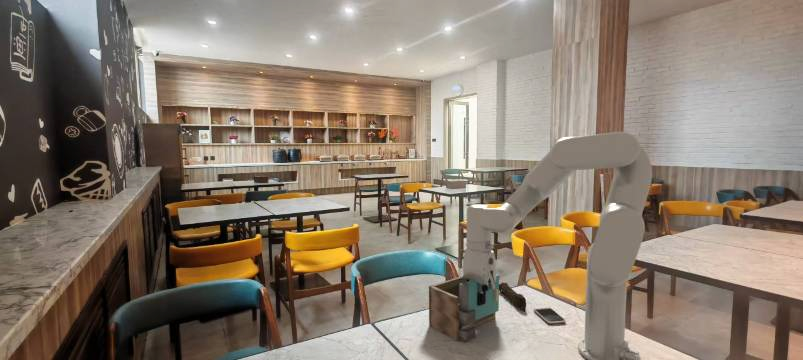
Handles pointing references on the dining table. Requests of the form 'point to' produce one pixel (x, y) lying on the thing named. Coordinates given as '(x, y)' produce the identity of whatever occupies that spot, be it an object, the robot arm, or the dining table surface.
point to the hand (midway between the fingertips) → (478, 302)
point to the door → (469, 299)
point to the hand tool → (513, 296)
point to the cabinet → (452, 311)
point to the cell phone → (549, 316)
